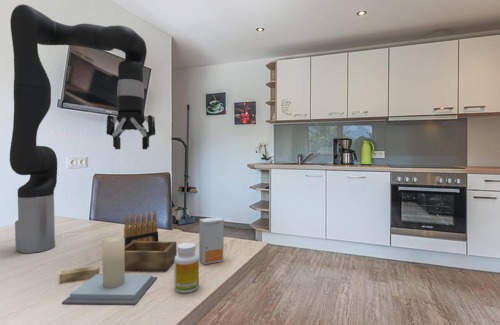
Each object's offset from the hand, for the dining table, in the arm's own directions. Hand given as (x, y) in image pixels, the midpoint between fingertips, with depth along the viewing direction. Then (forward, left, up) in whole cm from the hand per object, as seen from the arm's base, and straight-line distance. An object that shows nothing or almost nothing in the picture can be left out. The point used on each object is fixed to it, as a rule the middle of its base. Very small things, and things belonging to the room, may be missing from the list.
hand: (131, 149), depth 85 cm
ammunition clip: (+2, +2, -32) cm, 32 cm away
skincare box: (+26, -7, -32) cm, 42 cm away
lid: (+7, -24, -32) cm, 41 cm away
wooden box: (+9, -10, -32) cm, 35 cm away
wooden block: (-4, -19, -32) cm, 38 cm away
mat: (+7, -25, -32) cm, 41 cm away
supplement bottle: (+23, -23, -32) cm, 46 cm away
